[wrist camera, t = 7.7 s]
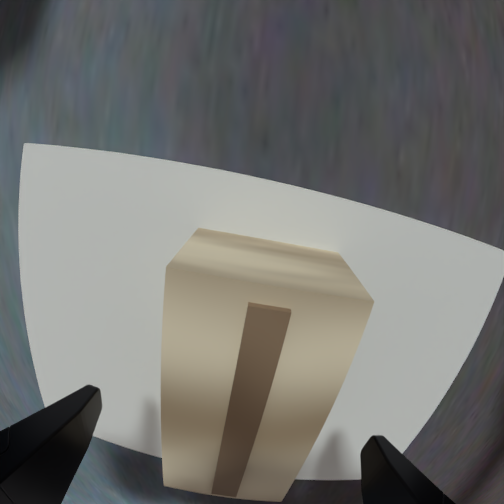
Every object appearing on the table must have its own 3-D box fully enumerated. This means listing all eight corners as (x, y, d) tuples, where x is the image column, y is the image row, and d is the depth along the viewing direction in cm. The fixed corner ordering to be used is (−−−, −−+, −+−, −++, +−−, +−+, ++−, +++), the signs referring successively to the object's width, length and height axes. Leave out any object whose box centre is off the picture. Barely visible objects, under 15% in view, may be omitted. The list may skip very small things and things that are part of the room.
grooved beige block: (278, 438, 14) (281, 505, 10) (180, 423, 14) (162, 489, 10) (338, 252, 11) (377, 305, 7) (198, 227, 11) (163, 269, 7)
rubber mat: (506, 251, 11) (511, 254, 11) (379, 473, 16) (381, 478, 16) (29, 143, 10) (23, 143, 10) (50, 412, 15) (47, 416, 15)
